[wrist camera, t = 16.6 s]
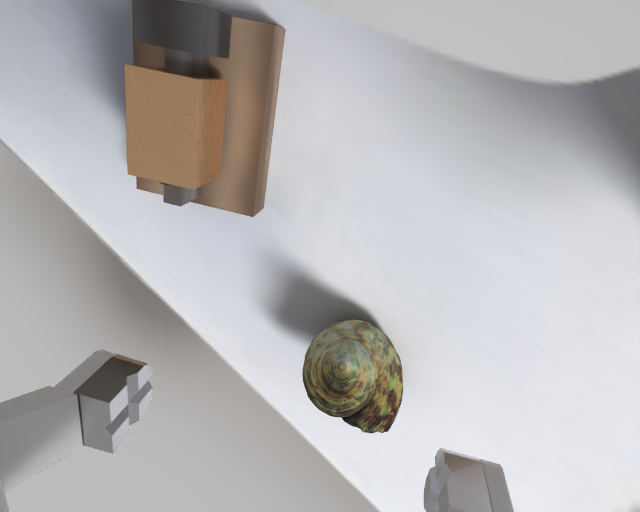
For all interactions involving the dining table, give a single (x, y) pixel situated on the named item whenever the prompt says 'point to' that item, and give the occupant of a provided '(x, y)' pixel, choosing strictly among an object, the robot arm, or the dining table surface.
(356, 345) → the seashell
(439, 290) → the dining table surface
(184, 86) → the slotted cardboard block
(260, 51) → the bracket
